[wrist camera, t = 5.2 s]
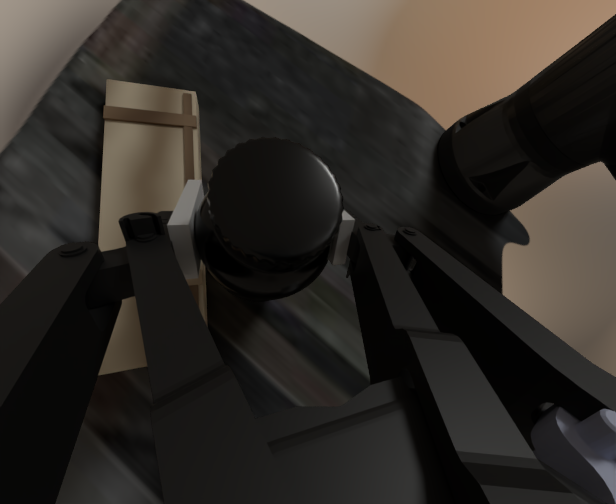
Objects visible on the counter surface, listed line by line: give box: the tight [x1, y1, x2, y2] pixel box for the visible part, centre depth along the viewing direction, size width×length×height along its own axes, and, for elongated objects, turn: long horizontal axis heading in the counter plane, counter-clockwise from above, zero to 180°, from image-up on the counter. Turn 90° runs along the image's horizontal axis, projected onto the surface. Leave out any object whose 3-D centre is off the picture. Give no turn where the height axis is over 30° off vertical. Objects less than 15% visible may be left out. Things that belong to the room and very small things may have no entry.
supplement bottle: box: [195, 137, 344, 302], centre depth 13 cm, size 7×7×12 cm
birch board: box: [98, 79, 208, 375], centre depth 19 cm, size 7×24×2 cm, turn 8°
